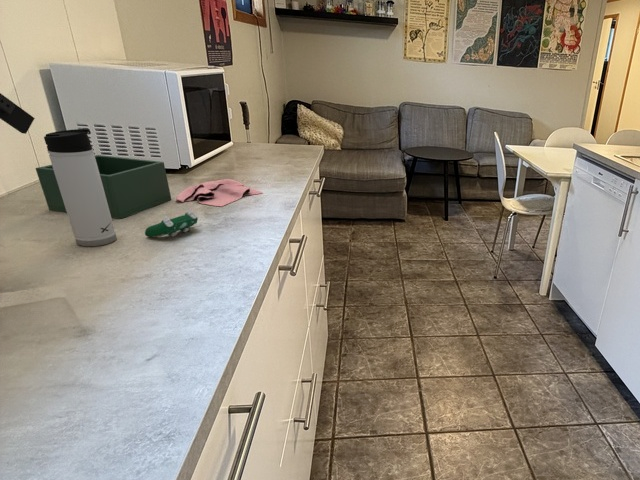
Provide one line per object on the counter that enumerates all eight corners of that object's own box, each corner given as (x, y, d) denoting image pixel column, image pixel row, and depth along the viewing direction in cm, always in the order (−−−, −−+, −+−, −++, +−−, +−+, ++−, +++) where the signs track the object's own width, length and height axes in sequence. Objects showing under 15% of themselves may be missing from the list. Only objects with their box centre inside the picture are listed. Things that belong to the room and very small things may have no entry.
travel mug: (120, 243, 88) (90, 131, 79) (76, 248, 85) (39, 132, 75) (118, 233, 93) (89, 126, 83) (76, 237, 89) (42, 126, 80)
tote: (49, 210, 102) (35, 168, 97) (108, 192, 116) (97, 154, 112) (120, 219, 100) (109, 176, 96) (171, 199, 114) (163, 161, 110)
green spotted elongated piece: (154, 248, 92) (167, 231, 89) (141, 232, 91) (153, 215, 88) (193, 234, 99) (205, 218, 96) (180, 220, 99) (193, 203, 96)
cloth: (237, 180, 134) (236, 172, 132) (274, 199, 120) (273, 189, 119) (158, 190, 120) (155, 180, 119) (189, 211, 107) (187, 201, 106)
